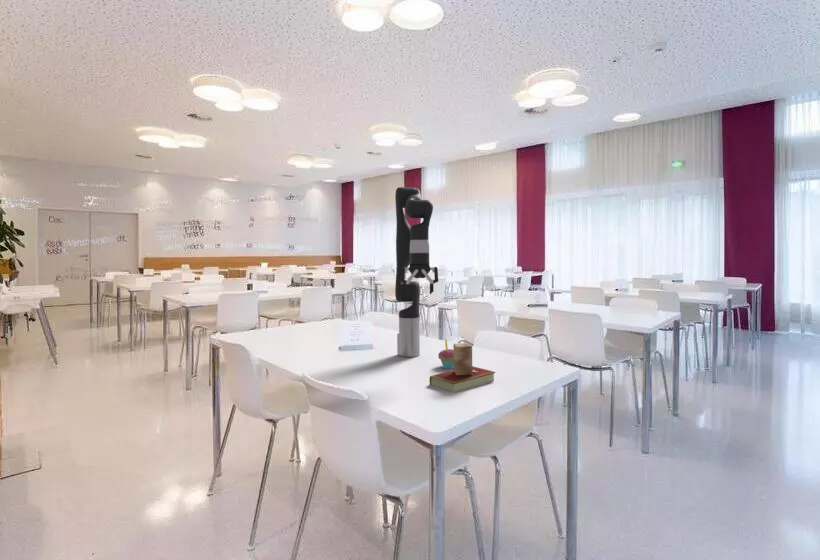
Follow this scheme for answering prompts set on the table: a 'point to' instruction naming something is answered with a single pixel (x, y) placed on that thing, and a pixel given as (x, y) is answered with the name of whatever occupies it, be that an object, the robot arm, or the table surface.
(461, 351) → the block
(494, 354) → the table surface
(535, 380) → the table surface
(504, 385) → the table surface
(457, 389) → the hardcover book
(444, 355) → the cupcake
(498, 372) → the table surface
